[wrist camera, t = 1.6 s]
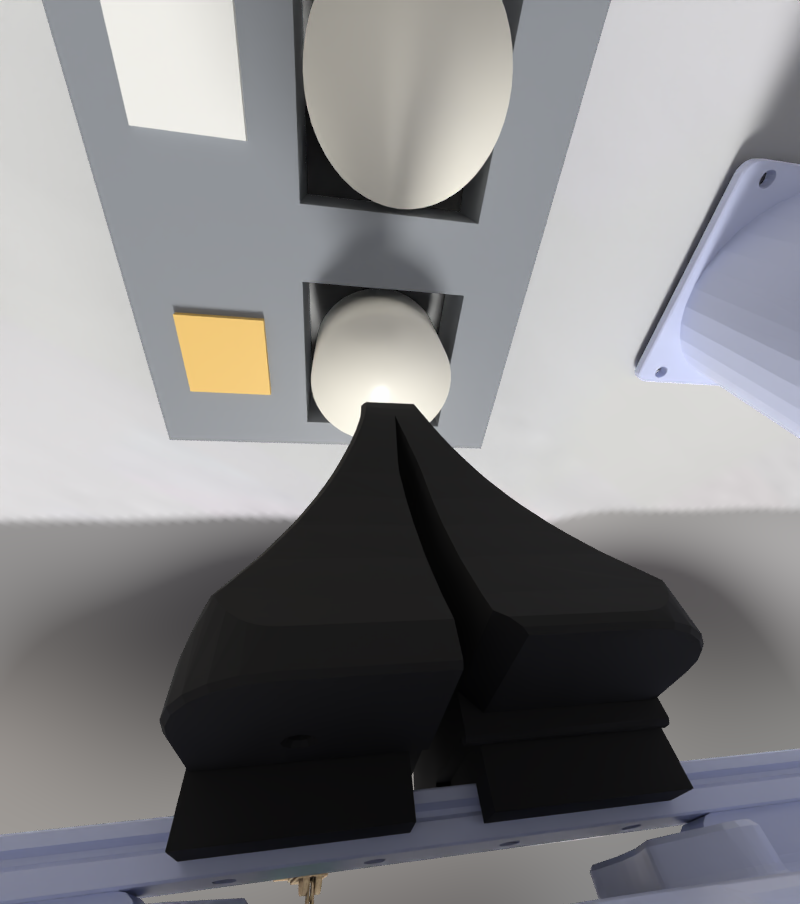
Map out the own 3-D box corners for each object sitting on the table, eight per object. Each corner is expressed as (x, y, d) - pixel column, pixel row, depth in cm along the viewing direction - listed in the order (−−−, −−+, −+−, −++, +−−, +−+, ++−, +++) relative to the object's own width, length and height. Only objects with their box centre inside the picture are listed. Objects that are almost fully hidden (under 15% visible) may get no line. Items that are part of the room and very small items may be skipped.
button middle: (499, -11, 9) (541, -53, 7) (462, 205, 12) (485, 219, 10) (309, -50, 9) (297, -107, 7) (313, 188, 11) (306, 197, 9)
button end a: (446, 294, 14) (464, 320, 12) (426, 405, 16) (438, 443, 14) (315, 282, 13) (309, 309, 11) (317, 400, 16) (312, 439, 14)
